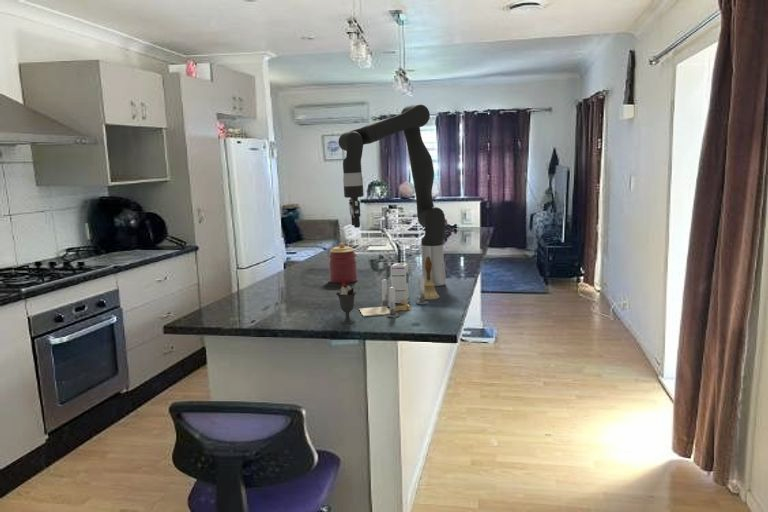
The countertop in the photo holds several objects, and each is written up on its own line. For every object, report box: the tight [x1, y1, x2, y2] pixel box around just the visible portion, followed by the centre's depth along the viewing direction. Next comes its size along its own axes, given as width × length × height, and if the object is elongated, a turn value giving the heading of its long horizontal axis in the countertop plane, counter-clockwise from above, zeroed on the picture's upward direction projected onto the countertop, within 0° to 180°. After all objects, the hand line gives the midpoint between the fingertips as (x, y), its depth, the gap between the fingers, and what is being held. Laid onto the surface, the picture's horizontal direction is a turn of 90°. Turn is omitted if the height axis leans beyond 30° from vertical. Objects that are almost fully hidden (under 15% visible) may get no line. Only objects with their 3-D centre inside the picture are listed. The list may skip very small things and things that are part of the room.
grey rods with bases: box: [378, 276, 429, 318], centre depth 203 cm, size 18×18×10 cm
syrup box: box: [390, 262, 411, 305], centre depth 214 cm, size 6×6×14 cm
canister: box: [327, 242, 359, 284], centre depth 257 cm, size 13×13×18 cm
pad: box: [358, 306, 390, 317], centre depth 201 cm, size 10×10×1 cm
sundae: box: [335, 278, 357, 325], centre depth 188 cm, size 7×7×15 cm
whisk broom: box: [417, 257, 440, 301], centre depth 220 cm, size 8×8×16 cm
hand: (355, 226), depth 222 cm, fingers open, 8 cm apart
